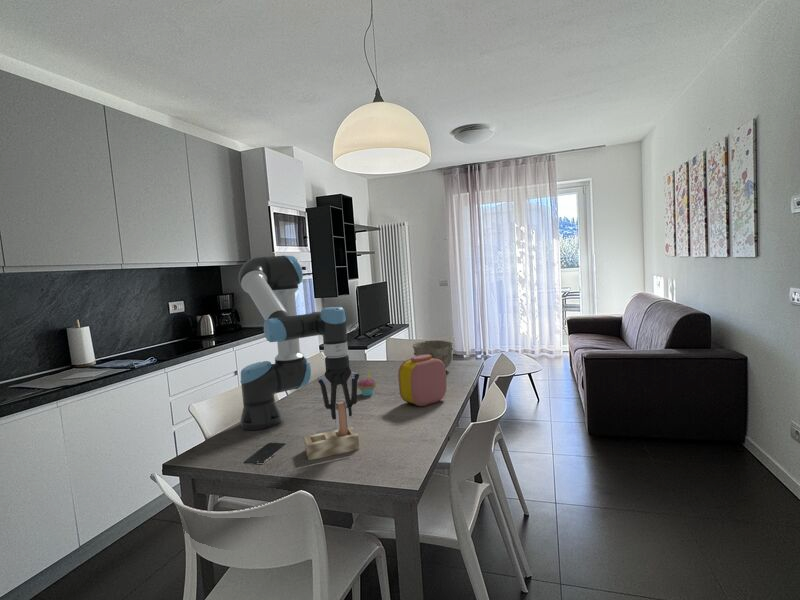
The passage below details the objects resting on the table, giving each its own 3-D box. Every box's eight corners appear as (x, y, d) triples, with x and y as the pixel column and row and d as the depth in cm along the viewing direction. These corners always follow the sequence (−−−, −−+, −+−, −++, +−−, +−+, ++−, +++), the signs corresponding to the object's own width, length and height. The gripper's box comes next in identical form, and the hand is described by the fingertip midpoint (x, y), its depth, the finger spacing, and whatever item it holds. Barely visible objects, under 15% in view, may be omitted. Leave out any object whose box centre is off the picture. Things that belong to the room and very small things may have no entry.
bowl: (434, 364, 246) (433, 338, 245) (463, 369, 230) (461, 342, 228) (405, 372, 233) (403, 345, 231) (433, 379, 216) (431, 349, 215)
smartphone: (287, 442, 147) (262, 463, 132) (288, 445, 147) (263, 465, 132) (268, 441, 149) (242, 461, 134) (269, 444, 149) (242, 464, 134)
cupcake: (377, 391, 201) (376, 366, 200) (375, 397, 193) (373, 370, 192) (359, 392, 202) (357, 366, 201) (356, 397, 194) (354, 371, 193)
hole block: (308, 461, 132) (307, 445, 132) (305, 451, 140) (303, 436, 139) (359, 450, 138) (358, 435, 137) (353, 441, 145) (352, 426, 145)
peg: (340, 442, 138) (337, 405, 137) (338, 439, 141) (335, 403, 140) (349, 440, 139) (346, 404, 138) (347, 437, 142) (344, 401, 141)
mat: (321, 443, 146) (321, 442, 146) (316, 433, 155) (316, 432, 155) (350, 437, 149) (350, 436, 149) (343, 427, 158) (343, 426, 158)
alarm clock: (432, 394, 191) (429, 351, 190) (449, 399, 182) (446, 354, 181) (398, 404, 180) (395, 358, 179) (415, 410, 171) (411, 362, 170)
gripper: (313, 361, 132) (320, 436, 133) (363, 354, 137) (369, 426, 139) (309, 357, 139) (316, 428, 140) (357, 350, 144) (363, 419, 146)
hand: (342, 427), depth 140 cm, fingers closed on peg, 3 cm apart
